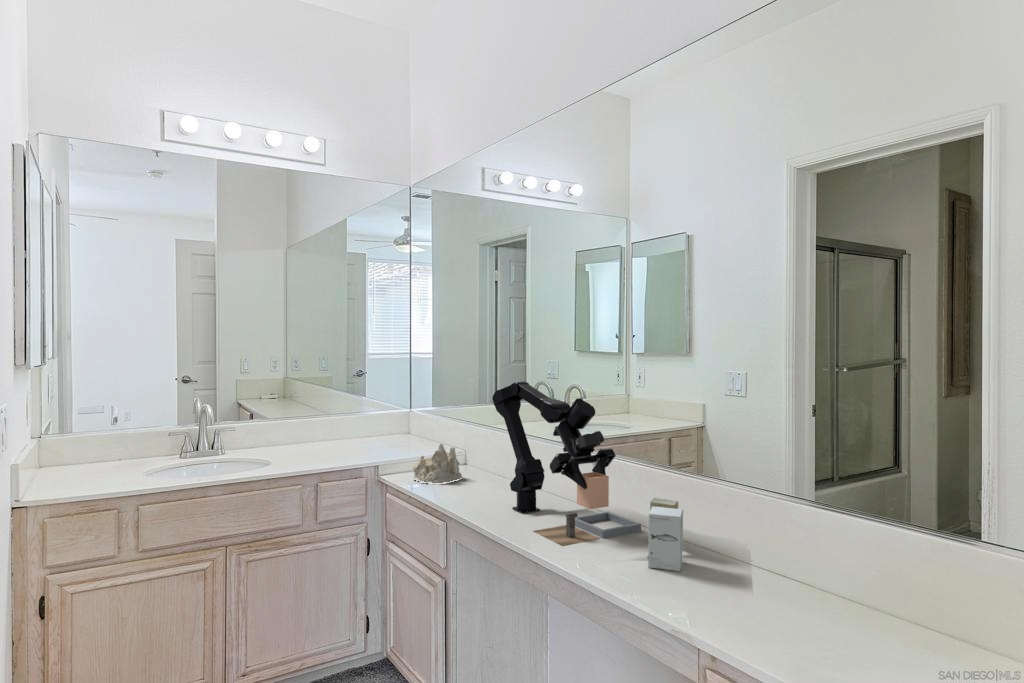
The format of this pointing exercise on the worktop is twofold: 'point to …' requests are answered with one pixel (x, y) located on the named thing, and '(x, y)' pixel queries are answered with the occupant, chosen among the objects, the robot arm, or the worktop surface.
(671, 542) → the supplement box
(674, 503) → the skincare box
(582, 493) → the terracotta collar
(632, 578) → the worktop surface
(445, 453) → the miniature mountain rock
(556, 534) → the walnut base
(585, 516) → the charcoal tray
